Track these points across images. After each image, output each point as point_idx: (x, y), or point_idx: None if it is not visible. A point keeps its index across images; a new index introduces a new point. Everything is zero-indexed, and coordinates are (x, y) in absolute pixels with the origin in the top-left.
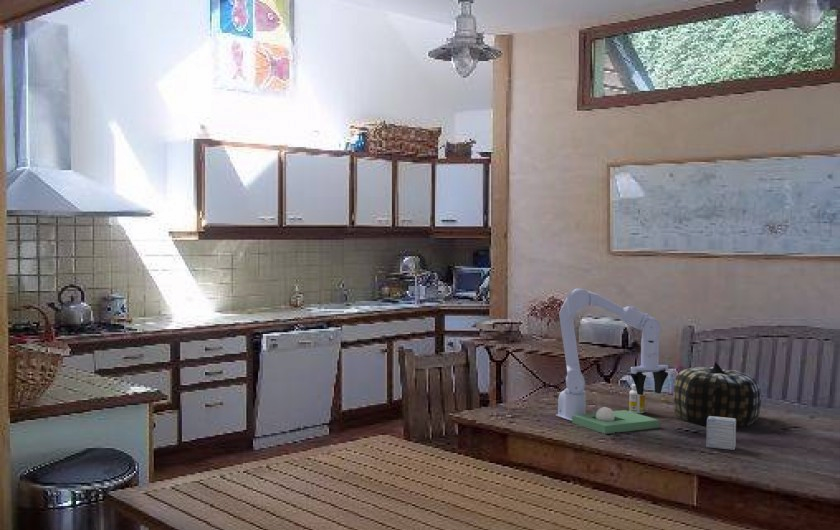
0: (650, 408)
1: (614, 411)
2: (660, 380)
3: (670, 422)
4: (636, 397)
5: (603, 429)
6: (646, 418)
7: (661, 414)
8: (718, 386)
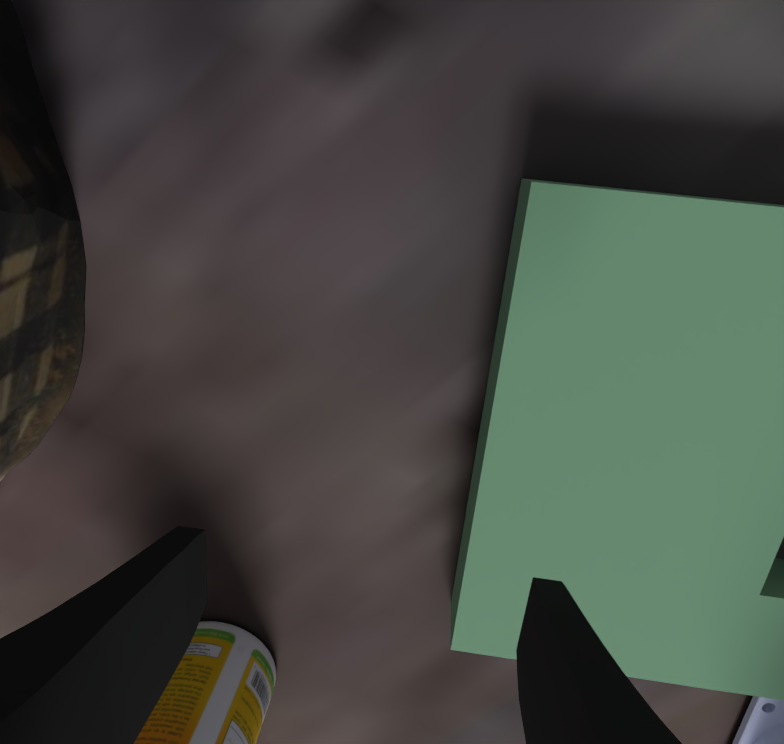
0: None
1: None
2: (64, 701)
3: (240, 289)
4: None
5: None
6: (591, 312)
7: (100, 528)
8: None
